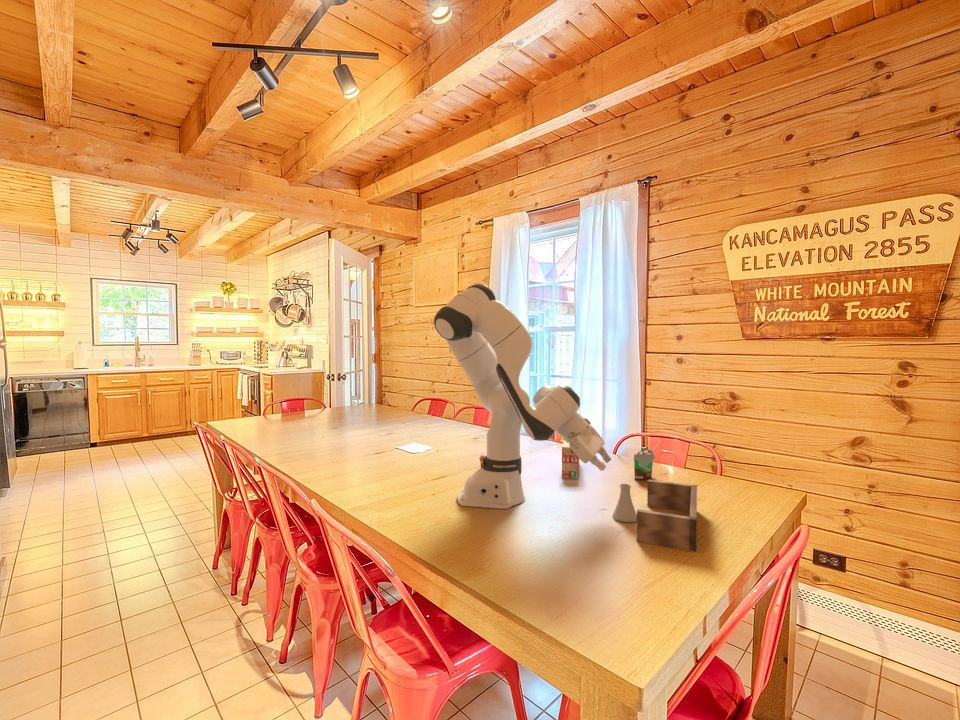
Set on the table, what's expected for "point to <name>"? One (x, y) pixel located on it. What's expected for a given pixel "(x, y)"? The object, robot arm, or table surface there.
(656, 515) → the u-shaped enclosure
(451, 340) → the robot arm
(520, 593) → the table surface
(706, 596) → the table surface
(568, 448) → the stack of blocks
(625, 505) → the flask
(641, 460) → the food container
